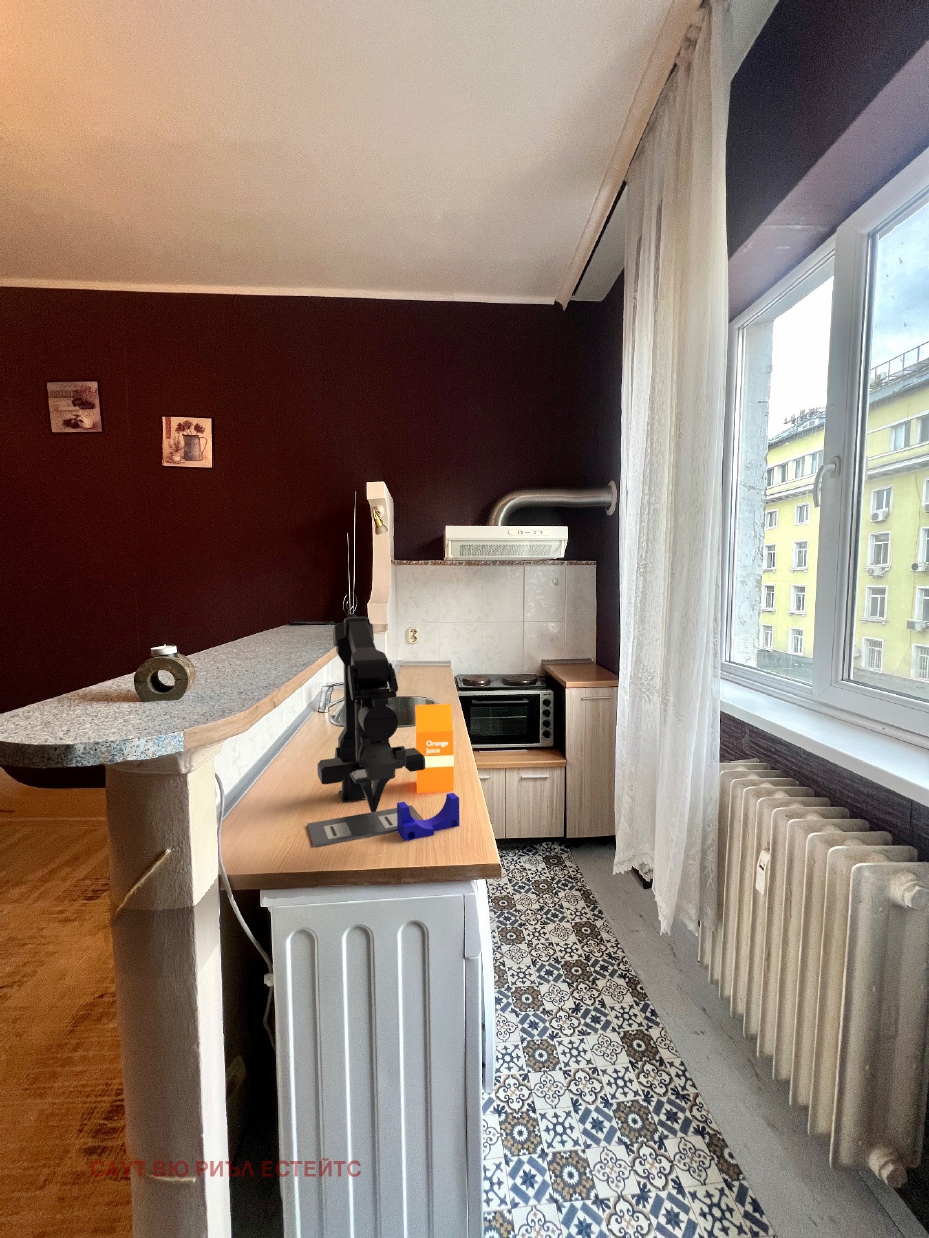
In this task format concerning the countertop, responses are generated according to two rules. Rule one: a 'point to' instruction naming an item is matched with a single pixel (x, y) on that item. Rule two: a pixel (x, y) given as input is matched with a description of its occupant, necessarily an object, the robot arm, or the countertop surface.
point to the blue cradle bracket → (424, 828)
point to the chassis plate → (355, 826)
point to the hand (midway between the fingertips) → (373, 811)
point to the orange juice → (435, 747)
